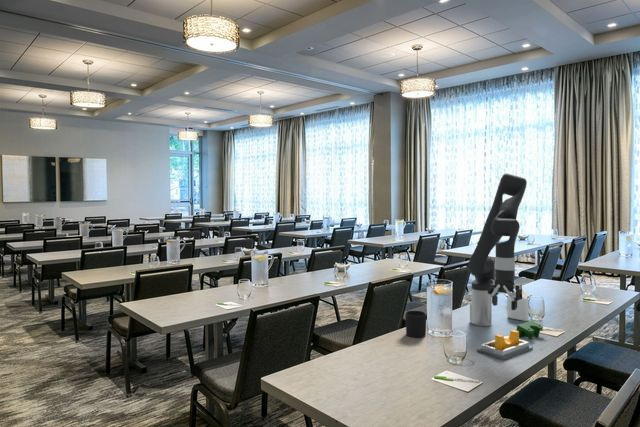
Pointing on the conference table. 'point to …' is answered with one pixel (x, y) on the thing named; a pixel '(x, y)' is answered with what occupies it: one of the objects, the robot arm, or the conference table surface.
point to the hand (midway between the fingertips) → (504, 307)
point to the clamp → (529, 329)
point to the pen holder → (415, 324)
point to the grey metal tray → (506, 353)
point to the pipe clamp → (507, 340)
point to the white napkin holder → (518, 309)
